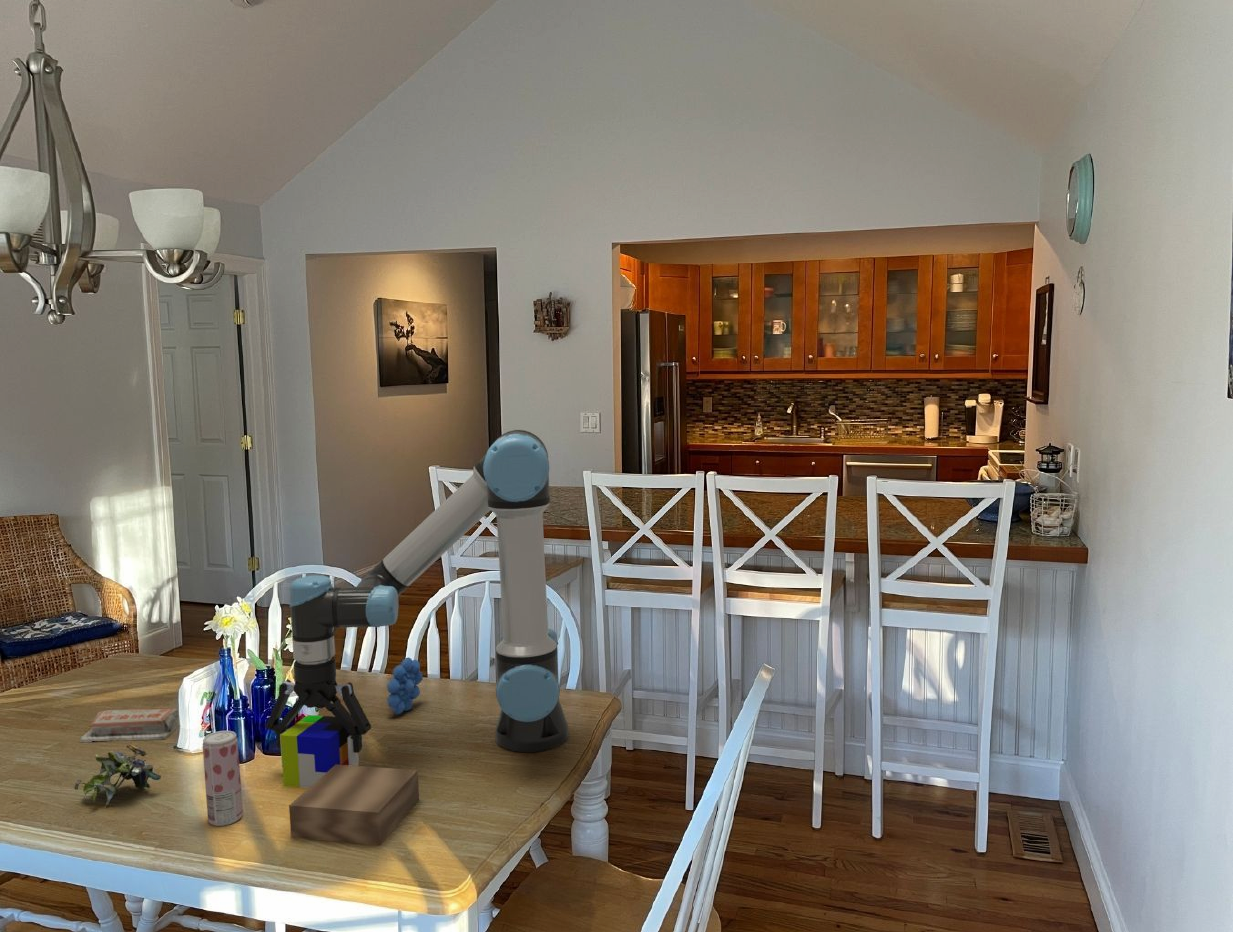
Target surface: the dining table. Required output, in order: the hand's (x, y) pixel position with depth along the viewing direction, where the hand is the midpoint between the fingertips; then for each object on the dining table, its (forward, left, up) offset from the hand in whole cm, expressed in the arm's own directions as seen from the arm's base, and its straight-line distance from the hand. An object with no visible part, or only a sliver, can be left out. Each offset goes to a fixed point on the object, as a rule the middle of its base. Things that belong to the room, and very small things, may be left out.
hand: (320, 766), depth 182 cm
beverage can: (+9, +18, -2) cm, 20 cm away
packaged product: (+51, -16, -3) cm, 54 cm away
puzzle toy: (0, 0, -2) cm, 2 cm away
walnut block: (-14, +15, -2) cm, 21 cm away
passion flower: (+33, +13, -2) cm, 35 cm away
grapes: (-3, -34, -2) cm, 34 cm away
